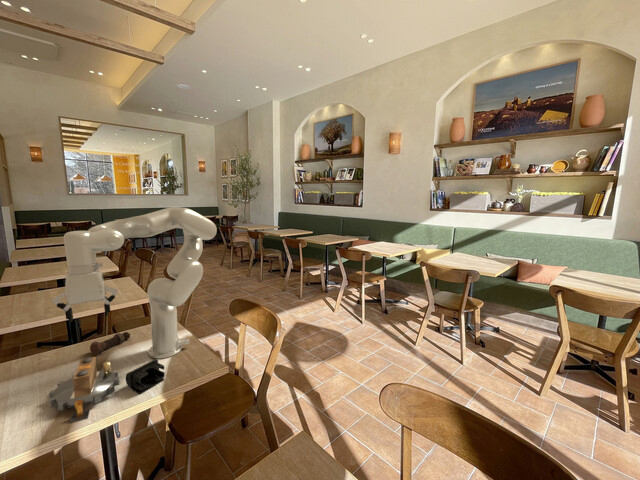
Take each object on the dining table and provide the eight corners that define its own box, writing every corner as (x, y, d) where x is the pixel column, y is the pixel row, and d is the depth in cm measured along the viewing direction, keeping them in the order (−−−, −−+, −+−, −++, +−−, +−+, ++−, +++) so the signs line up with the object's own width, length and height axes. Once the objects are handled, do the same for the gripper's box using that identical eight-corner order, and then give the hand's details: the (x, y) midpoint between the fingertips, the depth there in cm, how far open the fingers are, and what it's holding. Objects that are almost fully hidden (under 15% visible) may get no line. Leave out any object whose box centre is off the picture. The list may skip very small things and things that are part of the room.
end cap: (153, 373, 111) (152, 356, 110) (165, 379, 107) (165, 362, 106) (125, 388, 102) (124, 370, 101) (138, 395, 99) (137, 377, 98)
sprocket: (123, 369, 110) (122, 352, 109) (114, 400, 94) (113, 381, 92) (60, 380, 102) (58, 363, 101) (39, 417, 85) (36, 397, 84)
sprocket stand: (99, 386, 102) (98, 376, 101) (92, 416, 89) (91, 404, 88) (76, 392, 99) (75, 381, 98) (66, 423, 86) (64, 411, 85)
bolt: (129, 342, 135) (95, 358, 121) (122, 335, 136) (88, 350, 122) (134, 333, 133) (100, 348, 119) (126, 326, 134) (92, 340, 120)
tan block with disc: (96, 372, 103) (95, 355, 102) (90, 393, 93) (89, 374, 92) (82, 375, 101) (80, 357, 100) (74, 397, 91) (72, 377, 90)
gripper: (115, 262, 105) (120, 308, 108) (50, 269, 96) (58, 318, 99) (114, 268, 98) (119, 316, 102) (45, 275, 89) (53, 328, 93)
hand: (89, 317), depth 100 cm, fingers open, 9 cm apart
